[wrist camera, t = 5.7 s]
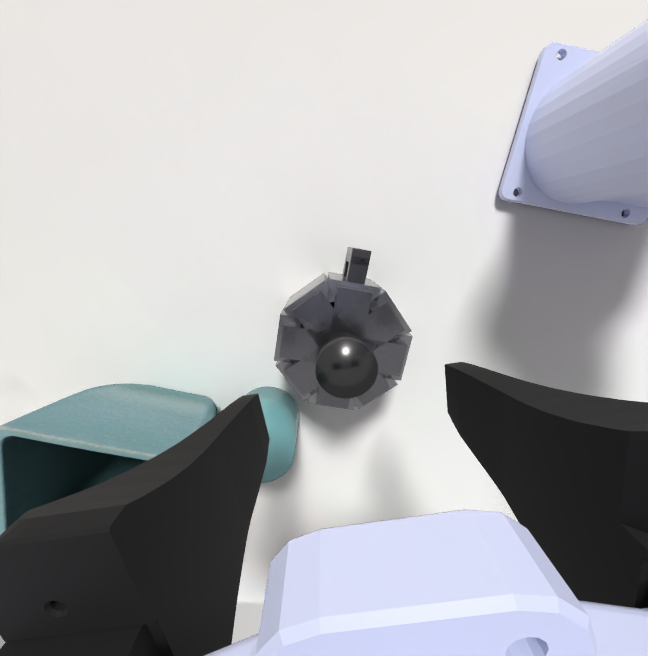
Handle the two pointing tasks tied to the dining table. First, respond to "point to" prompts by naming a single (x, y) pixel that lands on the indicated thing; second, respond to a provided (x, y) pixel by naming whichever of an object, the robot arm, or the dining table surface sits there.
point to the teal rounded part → (278, 430)
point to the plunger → (346, 366)
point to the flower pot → (90, 441)
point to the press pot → (341, 330)
